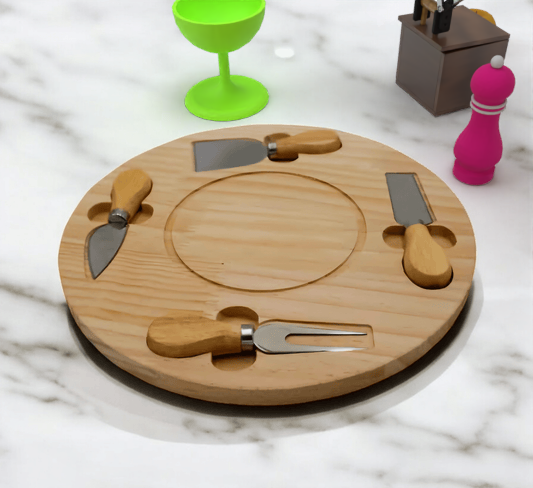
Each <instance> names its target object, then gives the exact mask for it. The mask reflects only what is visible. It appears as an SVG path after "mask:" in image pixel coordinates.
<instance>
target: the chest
mask: <svg viewBox="0 0 533 488" xmlns="http://www.w3.org/2000/svg"><path fill="white" fill-rule="evenodd" d="M400 25H401V26H400V35H399V43H398V52H397V62H396V71H395V84H396V85H397V86H399V87H400V88H401V89H402V90H403V91H404V92H406V93H407V94H408V95H409V96H410V97H411V98H412V99H414V101H416V102H417V103H418V104H419V105H420V106H422V107H423V108H424V109H425V110H426V111H427V112H429V113H430V114H431V115H432V116H433V117H434V118H437V117H440V116H444V115H448V114H451V113H452V114H453V113H455V112H460V111H463V110H466V109H470V108H471V106H470V102H471V96H472V95H473V92H472V91H471V86H470V84H471V79H472V76H473V74H474V73H475V71H476V70H477V69H478V68H479V67H481V66H483V65H485V64H488V63H491V59H492V58H493V57H494V56H497V55H499V56H502V57H503V58H504V61H505V59H506V56H507V51H508V46H509V42H510V38H509V39H505V40H500V41H495V42H489V43H484V44H479V45H473V46H468V47H463V48H457V49H452V50H447V51H440V50H438V49H437V48H435V47H434V46H433V45H431V44H430V43H429V42H427V41H426V40H425V39H423V38H422V37H420V36H419V35H418V34H416V33H415V32H414V31H412V30H411V29H410V28H408V27H407V26H406V25H404V24H403V23H400ZM471 109H472V108H471Z"/></svg>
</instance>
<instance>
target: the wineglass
mask: <svg viewBox="0 0 533 488" xmlns="http://www.w3.org/2000/svg"><path fill="white" fill-rule="evenodd" d="M266 5H267V1H266V0H174V2H173V3H172V5H171V10H172V16H173V18H174V23H175V25H176V27H177V28H178V30H179V31H180V33H181V35H182V36H183V37H184V38H185V39H186V40H187V41H188V43H190V44H191V45H192V46H195V47H196V48H198V49H199V50H202V51H205V52H207V53H211V54H217V61H218V71H219V72H218V73H219V75H214V76H211V77H207V78H205V79H201V80H200V81H198V82H197V83H195V84H194V85H192V86H191V87H190V88H189V89H188V91H187V92H186V94H185V97H184V105H185V107H186V109H187V111H188V112H189V113H191V114H192V115H194V116H195V117H198V118H200V119H203V120H206V121H207V120H208V121H214V122H231V121H238V120H239V121H240V120H242V119H247V118H249V117H252V116H254V115H256V114H258V113H259V112H260V111H263V109H265V107H266V106H267V105H268V103H269V99H270V94H269V92H268V89H267V87H266V86H265V85H264V84H263V83H262V82H260V81H259V80H257V79H255V78H252V77H249V76H246V75H240V74H231V69H230V56H229V53H232V52H235V51H238V50H240V49H241V48H243V47H244V46H246V45H247V44H249V43H250V42H251V41H252V40H253V39H254V38H255V36H256V35H257V34H258V32H259V31H260V29H261V27H262V24H263V22H264V18H265V15H266V14H265V13H266Z"/></svg>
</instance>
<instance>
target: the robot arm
mask: <svg viewBox="0 0 533 488" xmlns="http://www.w3.org/2000/svg"><path fill="white" fill-rule="evenodd" d="M436 1H437V9H438V10H435V11H434V18H433V25H432V33H433V34H434V35H435V34H439V33H444V32H448V31H449V30H450V24H451V18H452V11H453V9H455V8H456V6H459V5H460V3H462V2H463V1H464V0H436ZM422 9H423V6H422V5H421V0H414V4H413V10H412V11H413V12H412V13H413V20H414V21H419V20H421V15H422ZM430 14H431V12H430V11H429V10H428V13H427V19H428V18H430Z"/></svg>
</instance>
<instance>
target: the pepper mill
mask: <svg viewBox="0 0 533 488" xmlns="http://www.w3.org/2000/svg"><path fill="white" fill-rule="evenodd" d="M504 64H505V60H504V58H503V57H502V56H499V55H497V56H494V57H493V58H492V59H491V63H488V64H485V65H483V66H481V67H479V68H478V69H477V70H476V71H475V73H474V74H473V76H472V79H471V84H470V86H471V91H472V92H473V95H472V96H471V102H470V106H471V115H470V119H469V121H468V123H467V125H466V126H465V127H464V129H462V131H461V132H460V133H459V134H458V136H457V138H456V140H455V143H454V145H453V151H452V152H453V157H454V158H455V160H454V161H453V165H452V174H453V176H454V178H455V179H457V180H458V181H459V182H461V183H463V184H466V185H469V186H482V185H483V186H484V185H486V184H488V183H490V182H491V181H492V180H493V179H494V176H495V172H496V165H498V163H499V162H500V161H501V159H502V157H503V151H504V144H503V138H502V134H501V131H500V118H501V114H502V113H504V112H505V111H506V109H507V103H508V98H509V97H510V96H511V95H512V94H513V92H514V90H515V87H516V77H515V73H514V72H513V70H512V69H511V68H509V66H507V65H504Z"/></svg>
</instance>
